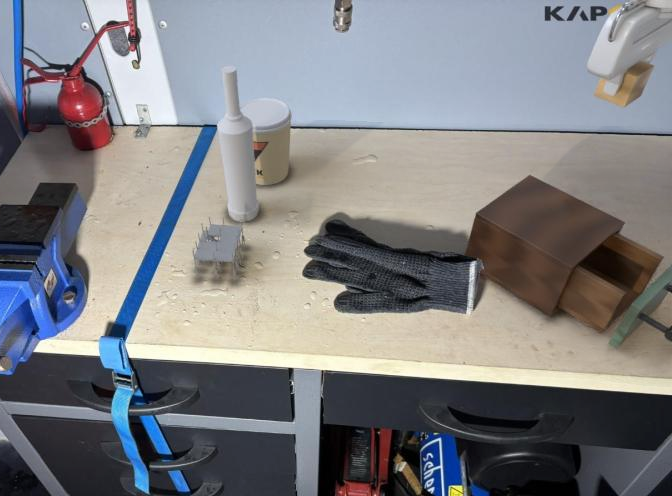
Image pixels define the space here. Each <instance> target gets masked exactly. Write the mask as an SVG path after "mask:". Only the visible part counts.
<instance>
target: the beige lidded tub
mask: <svg viewBox="0 0 672 496" xmlns="http://www.w3.org/2000/svg"><path fill="white" fill-rule="evenodd" d="M240 111H241V112H242V113H243V115H244V116H246V117H247V118H249V119H250V120H251V121H252V127H253V145H254V162H255V179H256V185H260V186H271V185H275V184H278V183H280V182H282V181H283V180H285V179H286V177H287V176H288V175H289V169H290V167H289V166H290V152H291V151H290V149H291V129H292V128H291V125H292V117H293V115H292V110H291V109H290V107H289V105H288V104H287V103H285V102H284V101H282V100H280V99H277V98H272V97H259V98H254V99H250V100H247V101H245V102H243V103H242V104H240Z"/></svg>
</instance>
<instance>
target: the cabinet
mask: <svg viewBox="0 0 672 496" xmlns="http://www.w3.org/2000/svg"><path fill="white" fill-rule="evenodd" d="M625 223H626V222H625V221H624V220H622V219H620V218H618V217H617V216H613V215H612V214H609V213H608V212H605V211H604V210H602V209H599V208H597V207H596V206H594V205H592V204H589V203H588V202H585V201H584V200H581V199H579V198H577V197H575V196H574V195H572V194H569V193H568V192H565V191H564V190H562V189H559V188H557V187H556V186H554V185H551V184H550V183H547V182H545V181H543V180H541V179H540V178H538V177H535V176H533V175H531V174H529V175H527V176H525V177H524V178H523V179H521V180H520V181H518V182H517V183H516V184H514V185H513V186H512V187H510V188H509V189H507V190H506V191H505V192H503V193H502V194H500V195H499V196H497V197H496V198H494V200H492V201H491V202H489V203H487V204H486V205H485V206H484V207H482V208H480V209H479V210H478V211H476V212H475V216H474V218H473V223H472V226H471V230H470V234H469V238H468V241H467V246H466V249H465V253H464V256H469V257H473V258H479V259H481V260H482V263H483V266H484V270H483V269H481V271H480V273H479V274H481V275H482V276H484V277H485V278H487V279H488V280H490V281H492V282H493V283H495V284H496V285H498V286H499V287H501V288H502V289H504V290H506V291H507V292H509V293H511V294H512V295H514V296H516V297H517V298H519V299H520V300H521V301H523V302H525V303H527V304H528V305H530V306H532V307H533V308H535V309H536V310H538V311H539V312H541V313H542V314H544V315H546V316H547V317H549V318H550V317H552V316H553V315H554V314H555V313H557V312H558V310H559V309H561V308H560V307H558V306H557V305H558V303H559V300H560V298H561V296H562V294H563V292H564V289H565V287H566V285H567V283H568V281H569V279H570V276H571V274H572V272H573V270H574V268H575V267H576V266H578V265H579V264H580V263H581V262H582V261H583V260H585V259H586V258H587V257H588V256H589V255H590V254H592V253H593V252H594V251H595V250H596V249H597V248H598V247H600V246H601V245H602V244H603V243H604V242H605V241H607V240H608V239H609V238H610V237H611V236H612V235H614V234H615V233H616V232H617V233H618V234H620V233H621V231H622V230H623V227H624V225H625Z"/></svg>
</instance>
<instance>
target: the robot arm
mask: <svg viewBox="0 0 672 496" xmlns="http://www.w3.org/2000/svg"><path fill="white" fill-rule="evenodd" d="M671 42H672V0H626V1H625V2H624V3H623V4H622V6H620V7H619V8H617V9H615V10H614V11H613V12H611V14H609V16H608V17H607V18H606V20H605V22H604V24H603V25H602V28H601V29H600V32H599V34H598V37H597V39H596V41H595V43H594V46H593V48H592V50H591V53H590V55H589V57H588V60H587V62H586V69H587V73H589V74H591V75H593V76H595V77H598V78H604V79H606V80H607V81H606V83H605V86H604V89H603V91H604V93H606V94H609V95H611V96H613V95H615V94H616V93H618V92H619V91H621V88H622V86H623V83H624V81H623V75H624V73H626V72H627V69H628V68H630V67H632V66H633V65H635V64H636V63H638V62H639V61H643V62H646V63H649V64H651V62H652V61H653V59H654V58H655V56H656V55H657V53H658V52H659V50H660V49H661V48H663V47H664V46H666V45H668V44H669V43H671Z"/></svg>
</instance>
